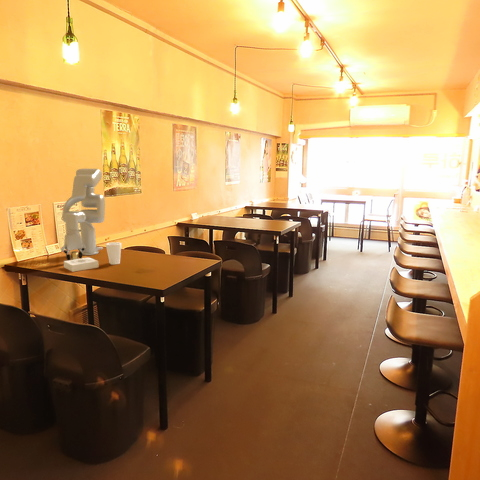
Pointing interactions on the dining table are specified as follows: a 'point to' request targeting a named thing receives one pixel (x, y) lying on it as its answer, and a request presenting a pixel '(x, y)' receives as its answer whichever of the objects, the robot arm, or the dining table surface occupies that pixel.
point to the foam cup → (114, 252)
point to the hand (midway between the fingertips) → (74, 259)
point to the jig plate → (81, 264)
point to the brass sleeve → (74, 255)
